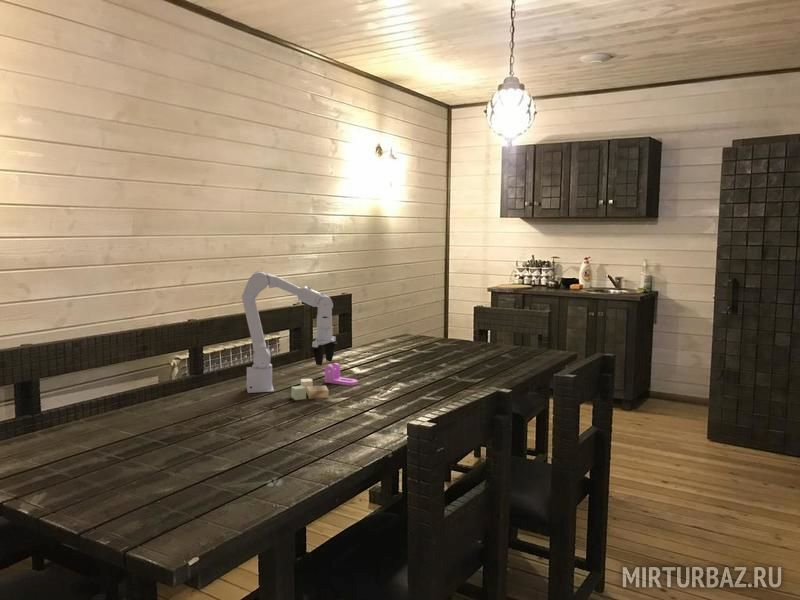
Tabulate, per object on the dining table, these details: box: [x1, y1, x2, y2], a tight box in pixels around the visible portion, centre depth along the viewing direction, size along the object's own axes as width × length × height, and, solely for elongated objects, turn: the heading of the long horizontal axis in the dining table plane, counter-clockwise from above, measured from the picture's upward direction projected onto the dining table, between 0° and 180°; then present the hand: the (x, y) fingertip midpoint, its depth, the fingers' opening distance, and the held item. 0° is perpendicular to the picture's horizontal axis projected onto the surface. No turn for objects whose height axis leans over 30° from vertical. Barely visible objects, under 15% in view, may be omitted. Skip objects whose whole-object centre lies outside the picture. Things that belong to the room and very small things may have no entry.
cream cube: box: [300, 378, 314, 393], centre depth 237 cm, size 4×4×4 cm
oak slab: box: [306, 385, 330, 400], centre depth 231 cm, size 7×7×3 cm
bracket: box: [324, 362, 359, 386], centre depth 250 cm, size 13×6×7 cm, turn 62°
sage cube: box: [290, 385, 307, 401], centre depth 227 cm, size 4×4×4 cm
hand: (324, 363), depth 241 cm, fingers open, 7 cm apart
